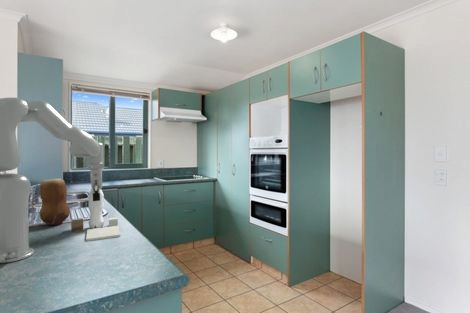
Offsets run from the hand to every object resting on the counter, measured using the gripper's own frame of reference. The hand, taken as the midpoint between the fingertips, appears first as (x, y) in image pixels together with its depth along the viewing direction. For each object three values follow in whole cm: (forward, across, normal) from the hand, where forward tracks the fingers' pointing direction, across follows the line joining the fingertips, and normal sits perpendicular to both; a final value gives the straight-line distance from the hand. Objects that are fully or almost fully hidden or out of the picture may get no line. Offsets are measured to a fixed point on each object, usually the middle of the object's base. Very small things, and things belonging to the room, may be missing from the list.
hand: (96, 199), depth 140 cm
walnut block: (+15, 0, +9) cm, 17 cm away
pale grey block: (+15, 0, -8) cm, 17 cm away
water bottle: (+15, 0, 0) cm, 15 cm away
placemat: (+15, -13, -3) cm, 20 cm away
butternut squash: (+15, +17, +20) cm, 30 cm away
